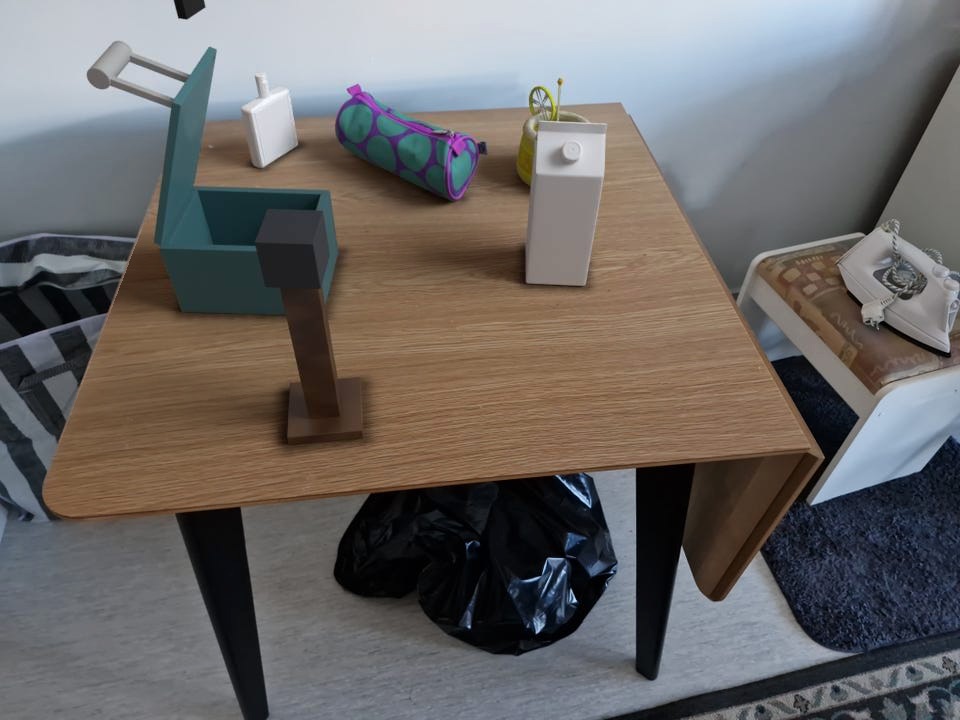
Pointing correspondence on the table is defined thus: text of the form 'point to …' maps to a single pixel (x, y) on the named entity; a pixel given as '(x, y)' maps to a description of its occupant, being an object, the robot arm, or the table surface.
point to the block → (293, 248)
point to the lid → (182, 124)
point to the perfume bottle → (269, 123)
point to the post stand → (318, 376)
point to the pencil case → (408, 145)
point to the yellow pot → (531, 129)
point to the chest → (233, 247)
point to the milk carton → (564, 201)
